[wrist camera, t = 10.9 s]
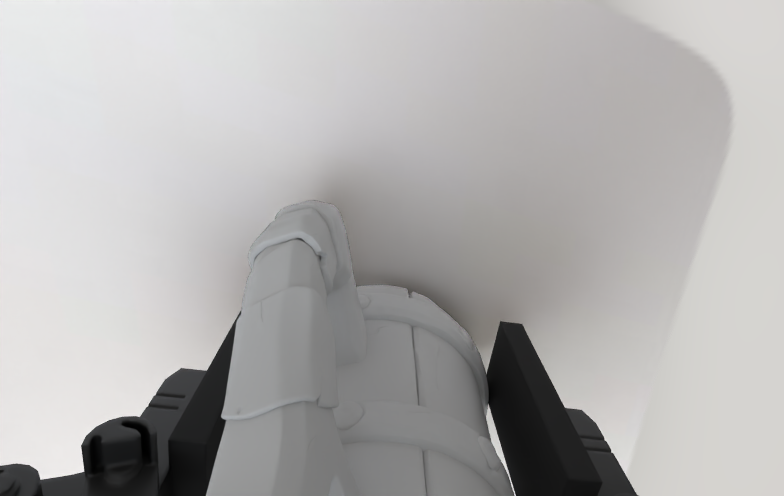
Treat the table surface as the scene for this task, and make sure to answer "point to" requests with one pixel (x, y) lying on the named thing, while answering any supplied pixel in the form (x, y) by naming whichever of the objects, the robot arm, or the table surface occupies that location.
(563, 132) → the table surface
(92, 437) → the robot arm
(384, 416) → the mug
